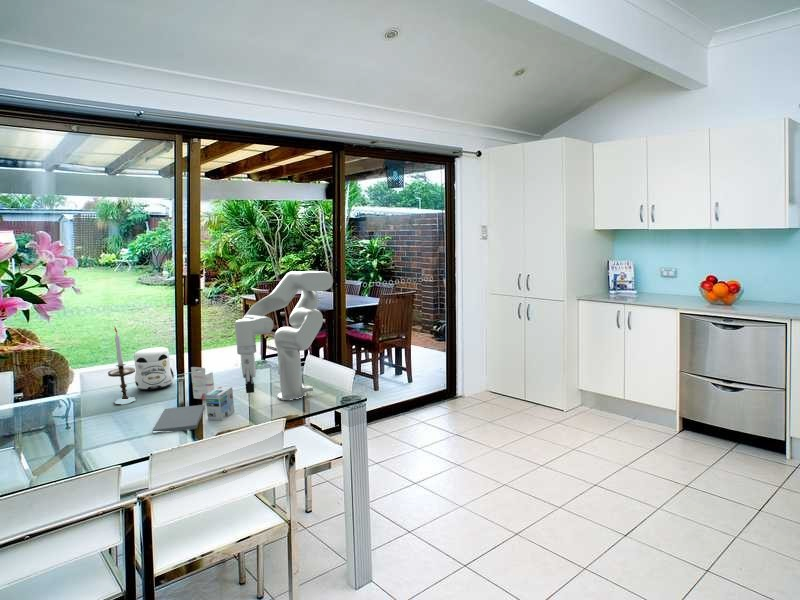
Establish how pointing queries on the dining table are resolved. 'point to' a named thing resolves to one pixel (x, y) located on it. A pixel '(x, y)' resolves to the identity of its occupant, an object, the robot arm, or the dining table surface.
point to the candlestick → (121, 367)
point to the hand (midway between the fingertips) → (250, 392)
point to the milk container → (153, 368)
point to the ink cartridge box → (201, 382)
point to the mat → (180, 418)
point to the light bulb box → (219, 403)
